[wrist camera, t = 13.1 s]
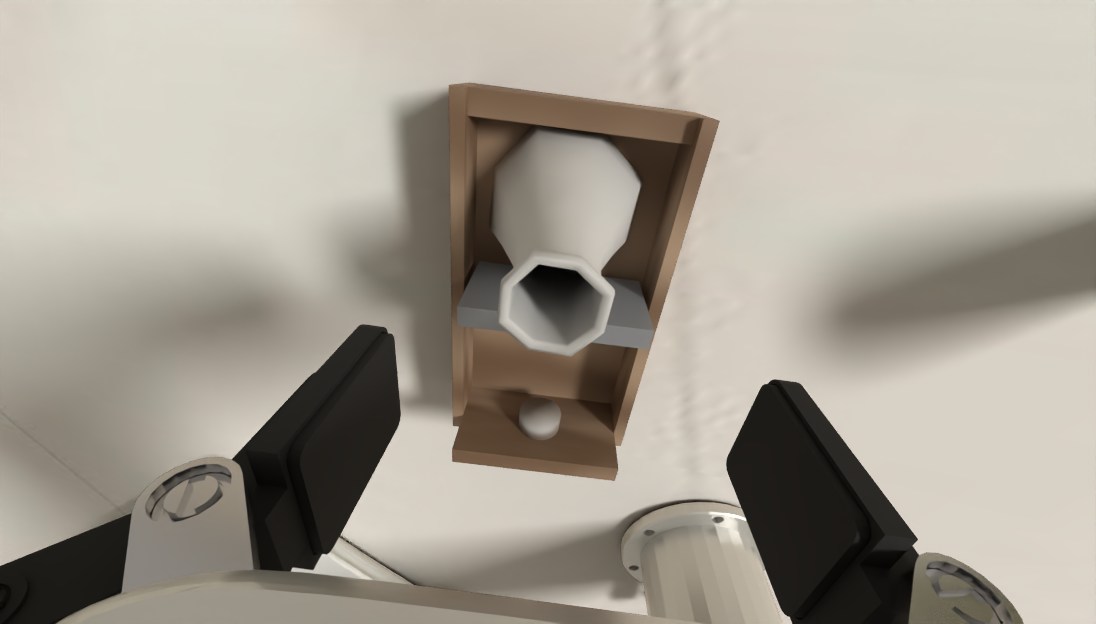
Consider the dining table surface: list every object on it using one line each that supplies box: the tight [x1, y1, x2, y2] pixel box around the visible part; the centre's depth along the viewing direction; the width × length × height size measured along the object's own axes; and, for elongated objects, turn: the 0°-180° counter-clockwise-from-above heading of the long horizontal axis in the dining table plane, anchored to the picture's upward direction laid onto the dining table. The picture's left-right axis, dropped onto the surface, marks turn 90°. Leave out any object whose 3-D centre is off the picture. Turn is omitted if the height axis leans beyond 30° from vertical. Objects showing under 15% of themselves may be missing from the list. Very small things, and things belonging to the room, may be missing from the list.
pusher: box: [457, 261, 654, 350], centre depth 19 cm, size 1×8×5 cm, turn 84°
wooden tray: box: [449, 83, 719, 481], centre depth 20 cm, size 18×10×6 cm, turn 173°
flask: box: [489, 124, 644, 357], centre depth 15 cm, size 7×7×10 cm
